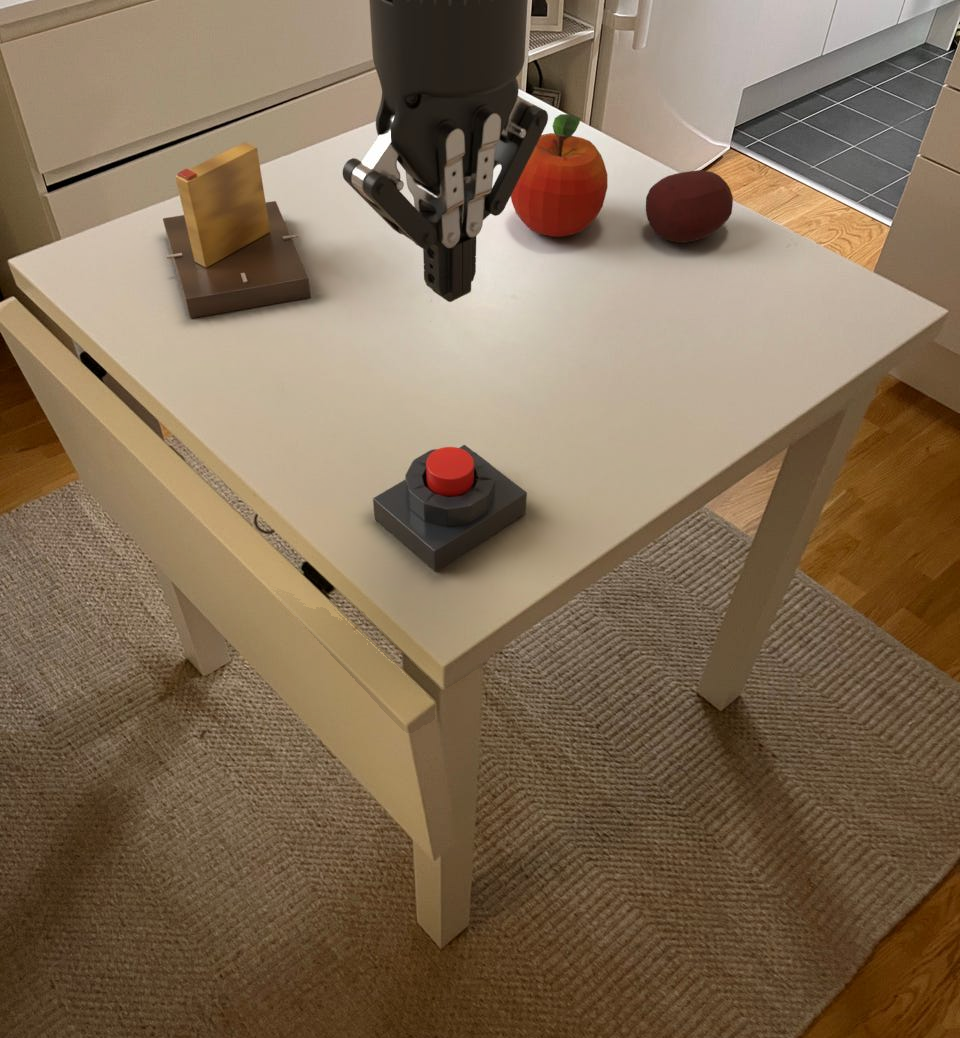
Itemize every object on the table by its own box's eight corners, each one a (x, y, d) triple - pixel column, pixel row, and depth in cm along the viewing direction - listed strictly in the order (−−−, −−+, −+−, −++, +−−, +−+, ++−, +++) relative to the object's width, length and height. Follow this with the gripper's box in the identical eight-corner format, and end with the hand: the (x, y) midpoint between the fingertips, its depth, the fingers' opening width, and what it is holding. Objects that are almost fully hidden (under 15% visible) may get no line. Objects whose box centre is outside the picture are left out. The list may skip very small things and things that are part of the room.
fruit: (493, 240, 98) (496, 137, 90) (524, 193, 103) (530, 93, 95) (586, 261, 96) (598, 158, 88) (613, 212, 101) (626, 111, 93)
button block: (435, 572, 71) (434, 533, 68) (374, 519, 74) (370, 479, 71) (525, 513, 75) (529, 474, 72) (464, 465, 78) (464, 425, 75)
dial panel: (160, 238, 97) (155, 217, 95) (284, 218, 99) (281, 198, 98) (183, 320, 89) (178, 298, 87) (317, 296, 91) (314, 275, 90)
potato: (630, 220, 101) (639, 161, 96) (712, 209, 102) (725, 151, 97) (657, 260, 96) (668, 201, 91) (742, 249, 98) (757, 189, 93)
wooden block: (258, 226, 95) (244, 138, 88) (270, 232, 94) (256, 144, 88) (194, 261, 91) (174, 173, 84) (206, 268, 90) (186, 179, 84)
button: (448, 504, 70) (447, 486, 69) (417, 479, 72) (416, 460, 70) (483, 482, 72) (484, 464, 70) (452, 458, 73) (452, 439, 72)
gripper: (498, -94, 50) (488, 228, 64) (282, -32, 45) (322, 306, 58) (606, -51, 47) (571, 279, 61) (388, 22, 41) (404, 367, 55)
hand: (449, 291), depth 59 cm, fingers closed
